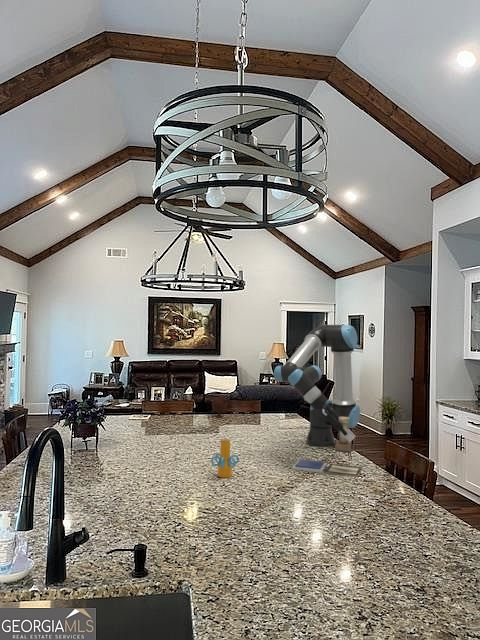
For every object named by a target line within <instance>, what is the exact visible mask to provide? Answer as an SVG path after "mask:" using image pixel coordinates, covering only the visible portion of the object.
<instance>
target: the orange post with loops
mask: <svg viewBox="0 0 480 640" xmlns="http://www.w3.org/2000/svg"><path fill="white" fill-rule="evenodd" d="M219 451H220V452H218V453H216V454H215V455H214V456H212V457H211V460H210V463H211V465H212V466H213V467H217V477H219V478H223V479H227V478H232V476H233V468H235V466H236V465H237V464H238V463H239V460H240V458H239V456H238V454H232V455H231V439H229V438H222V439H220V450H219ZM235 458H236V459H235ZM214 460H215V463H214Z"/></svg>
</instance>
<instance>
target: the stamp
mask: <svg viewBox="0 0 480 640" xmlns="http://www.w3.org/2000/svg"><path fill="white" fill-rule="evenodd" d="M338 421H339V422H340V424H341V425H342V426H343V427H345V428H346V429H347V431H348V429H349V428H348V423H350V418H349V417H339V418H338ZM351 451H352V441H351V442H349V441H348V440H347V439H346V438H345V437H344V436H343V435H342V434H341V432H340V431H339V440H338V441H336V442H335V444H334V452H337V453H344V454H345V453H346V454H347V453H348V454H349V453H350V452H351Z"/></svg>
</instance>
